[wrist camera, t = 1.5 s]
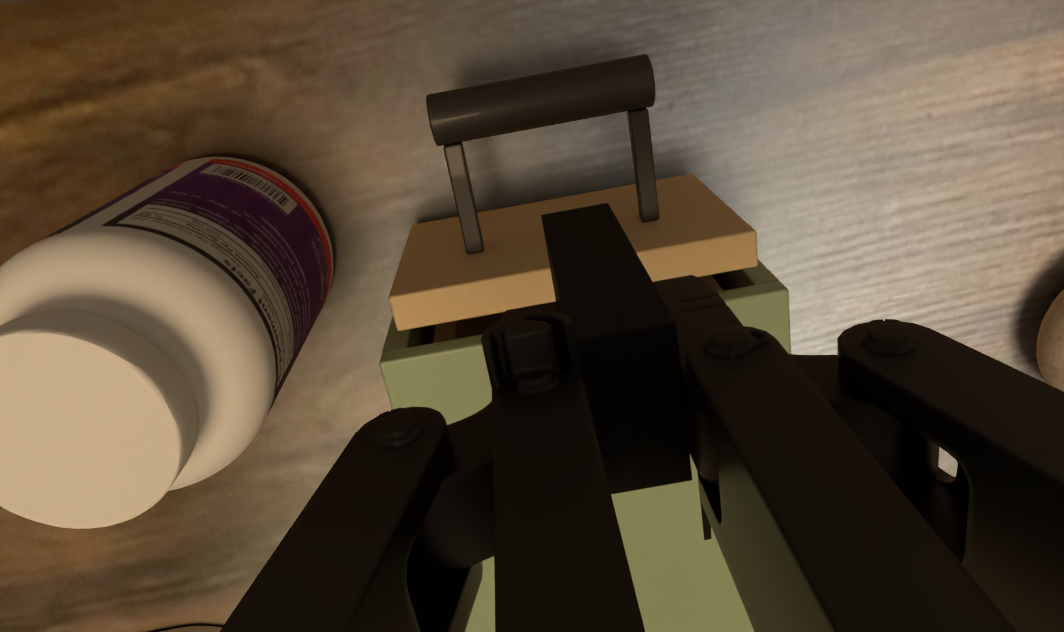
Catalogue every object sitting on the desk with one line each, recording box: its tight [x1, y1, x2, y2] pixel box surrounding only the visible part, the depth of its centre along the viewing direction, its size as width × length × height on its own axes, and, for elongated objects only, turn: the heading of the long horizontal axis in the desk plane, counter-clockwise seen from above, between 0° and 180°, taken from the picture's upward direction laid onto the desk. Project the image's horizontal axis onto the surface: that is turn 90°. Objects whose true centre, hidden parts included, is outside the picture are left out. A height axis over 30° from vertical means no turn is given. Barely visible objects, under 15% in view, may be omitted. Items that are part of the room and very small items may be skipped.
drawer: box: [389, 54, 758, 343], centre depth 28 cm, size 19×11×8 cm, turn 10°
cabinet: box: [379, 260, 791, 632], centre depth 30 cm, size 15×13×10 cm
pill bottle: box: [0, 157, 333, 528], centre depth 24 cm, size 8×8×14 cm
